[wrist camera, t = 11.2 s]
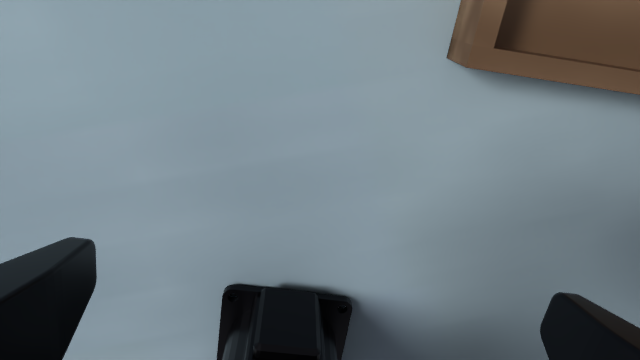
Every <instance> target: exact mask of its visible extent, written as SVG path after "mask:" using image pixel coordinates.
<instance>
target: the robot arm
mask: <svg viewBox="0 0 640 360" xmlns="http://www.w3.org/2000/svg"><path fill="white" fill-rule="evenodd" d="M96 277H97V276H96V249H95V244H94V242H93V241H92V240H90V239H84V238H75V237H69V238H66V239H63V240H61V241H58V242H56V243H53V244H50V245H48V246H45V247H43V248H40V249H38V250H35V251H32V252H30V253H27V254H25V255H22V256H19V257H17V258H14V259H12V260H9V261H6V262H4V263H1V264H0V360H62V359H63V357H64V355H65V353H66V351H67V349H68V346H69V344H70V342H71V340H72V338H73V335H74V333H75V331H76V329H77V326H78V324H79V322H80V320H81V318H82V315H83V313H84V311H85V309H86V307H87V304H88V302H89V300H90V298H91V296H92V293H93V291H94V288H95V285H96ZM232 293H233V294H236V295H237V296H236V297H232V296H230V295H229V294H232ZM340 305H344V306H346V307H344V308H338V307H339V306H340ZM351 313H352V304H351V301H350V299H349V298H347V297H344V296H336V295H327V294H318V293H313V292H305V291H296V290H287V289H277V288H262V287H253V286H244V285H229V286H227V287H226V288H225V290H224V293H223V296H222V307H221V319H220V330H219V341H218V352H217V360H341V358H342V353H343V349H344V344H345V340H346V335H347V331H348V326H349V322H350V317H351ZM540 333H541V338H542V341H543V344H544V346H545V349H546V352H547V355H548V357H549V360H640V328H638V327H636V326H635V325H633V324H631V323H629V322H627V321H626V320H624V319H622V318H620V317H618V316H616V315H615V314H613V313H611V312H609V311H607V310H606V309H604V308H602V307H600V306H598V305H597V304H595V303H593V302H591V301H589V300H587V299H586V298H584V297H582V296H580V295H578V294H572V293H563V292H559V293H556V294H555V295H554V296H553V297H552V299H551V301H550V304H549V306H548V309H547V311H546V313H545V316H544V318H543V321H542V323H541V328H540Z"/></svg>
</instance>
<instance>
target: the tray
mask: <svg viewBox="0 0 640 360" xmlns="http://www.w3.org/2000/svg"><path fill="white" fill-rule="evenodd" d="M447 58H448V59H450V60H452V61H454V62H456V63H458V64H460V65H462V66H464V67H467V68H473V69H479V70H486V71H492V72H499V73H505V74H511V75H518V76H524V77H530V78H537V79H543V80H550V81H556V82H562V83H569V84H575V85H581V86H588V87H594V88H601V89H607V90H613V91H620V92H626V93H633V94H639V95H640V0H461V3H460V7H459V11H458V15H457V19H456V23H455V27H454V31H453V35H452V39H451V43H450V47H449V51H448V55H447Z"/></svg>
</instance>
